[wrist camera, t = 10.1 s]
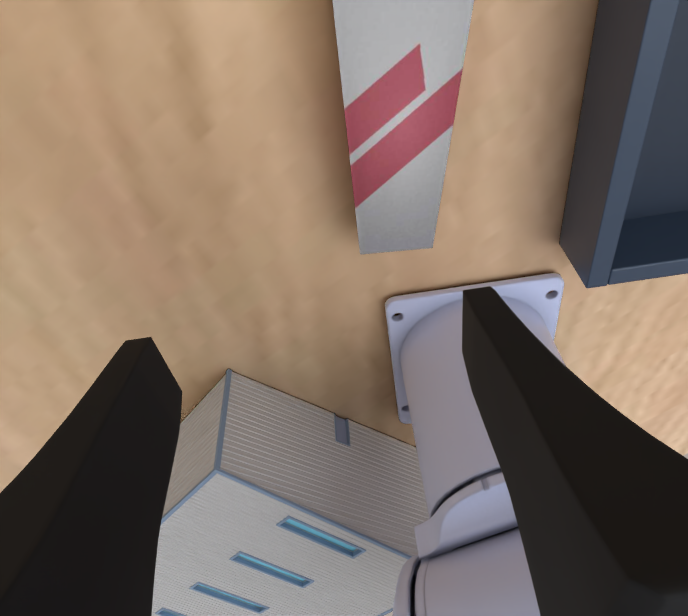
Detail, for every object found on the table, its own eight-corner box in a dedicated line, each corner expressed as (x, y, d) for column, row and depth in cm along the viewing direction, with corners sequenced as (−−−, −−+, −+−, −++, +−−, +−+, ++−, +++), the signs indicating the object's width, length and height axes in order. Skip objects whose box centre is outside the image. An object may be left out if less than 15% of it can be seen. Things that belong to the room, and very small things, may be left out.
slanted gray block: (228, 368, 27) (209, 512, 21) (431, 452, 33) (458, 579, 28) (38, 576, 42) (-2, 692, 36) (203, 606, 48) (190, 708, 43)
